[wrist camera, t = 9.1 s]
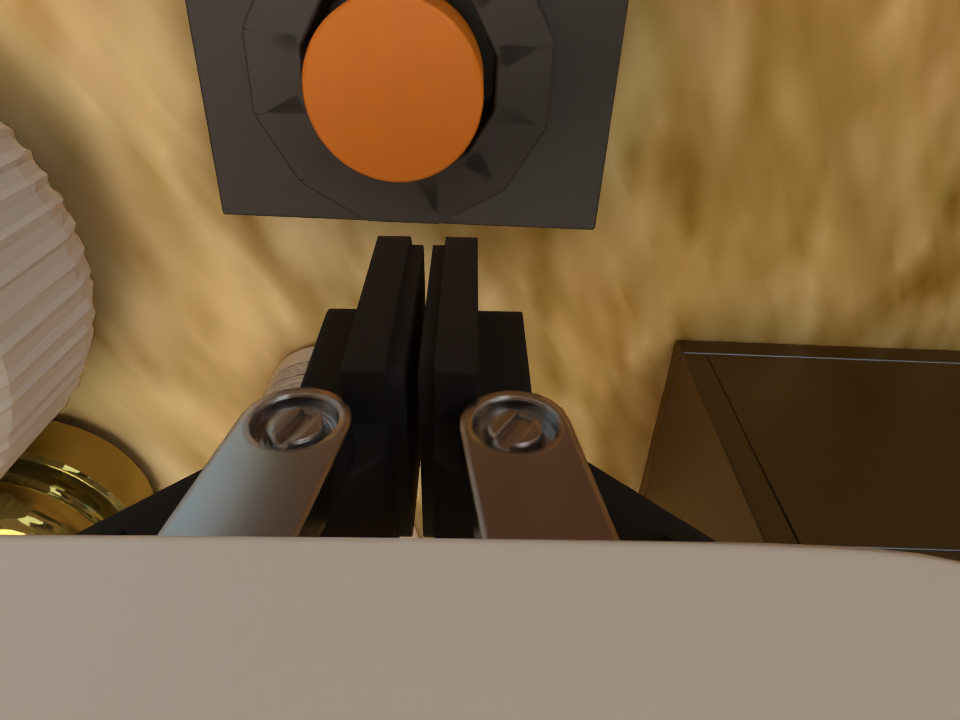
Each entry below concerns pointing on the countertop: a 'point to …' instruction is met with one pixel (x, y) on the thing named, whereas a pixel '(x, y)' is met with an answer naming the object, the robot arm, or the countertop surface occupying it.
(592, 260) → the countertop surface
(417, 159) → the button
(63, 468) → the brass door knob
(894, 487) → the cabinet
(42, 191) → the pendant light
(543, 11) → the control block
